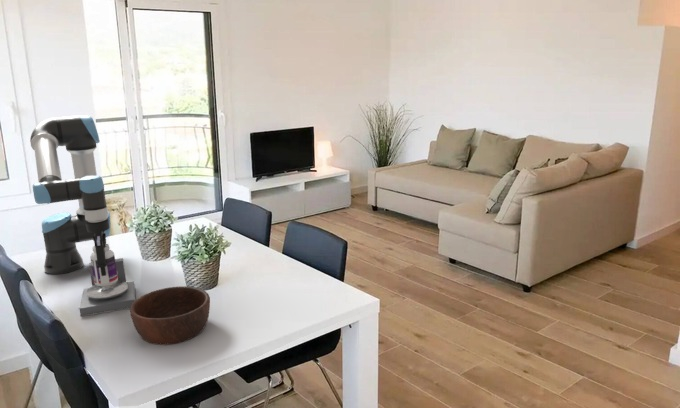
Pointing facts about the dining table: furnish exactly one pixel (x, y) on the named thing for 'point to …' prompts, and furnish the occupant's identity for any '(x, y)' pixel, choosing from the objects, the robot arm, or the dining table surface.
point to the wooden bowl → (170, 314)
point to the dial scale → (110, 304)
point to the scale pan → (107, 290)
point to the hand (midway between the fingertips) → (105, 278)
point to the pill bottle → (110, 266)
